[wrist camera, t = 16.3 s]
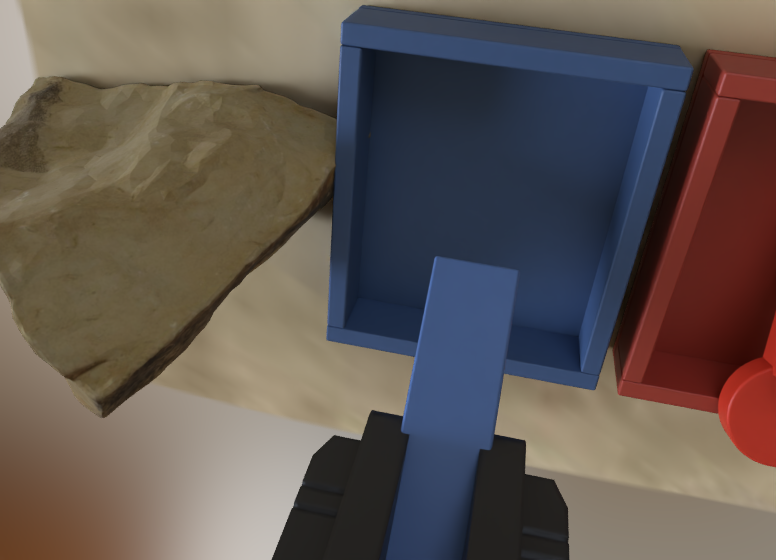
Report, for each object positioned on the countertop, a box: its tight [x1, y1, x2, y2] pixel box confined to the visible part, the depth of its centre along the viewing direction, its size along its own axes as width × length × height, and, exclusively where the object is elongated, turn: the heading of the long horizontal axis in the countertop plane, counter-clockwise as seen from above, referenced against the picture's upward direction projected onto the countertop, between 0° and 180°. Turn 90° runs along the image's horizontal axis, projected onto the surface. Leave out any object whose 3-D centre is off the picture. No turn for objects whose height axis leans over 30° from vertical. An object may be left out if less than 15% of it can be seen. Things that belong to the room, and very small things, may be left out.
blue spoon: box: [386, 256, 520, 560], centre depth 11 cm, size 8×3×2 cm
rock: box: [0, 76, 371, 418], centre depth 20 cm, size 11×9×10 cm
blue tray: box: [327, 5, 694, 390], centre depth 21 cm, size 10×9×2 cm
